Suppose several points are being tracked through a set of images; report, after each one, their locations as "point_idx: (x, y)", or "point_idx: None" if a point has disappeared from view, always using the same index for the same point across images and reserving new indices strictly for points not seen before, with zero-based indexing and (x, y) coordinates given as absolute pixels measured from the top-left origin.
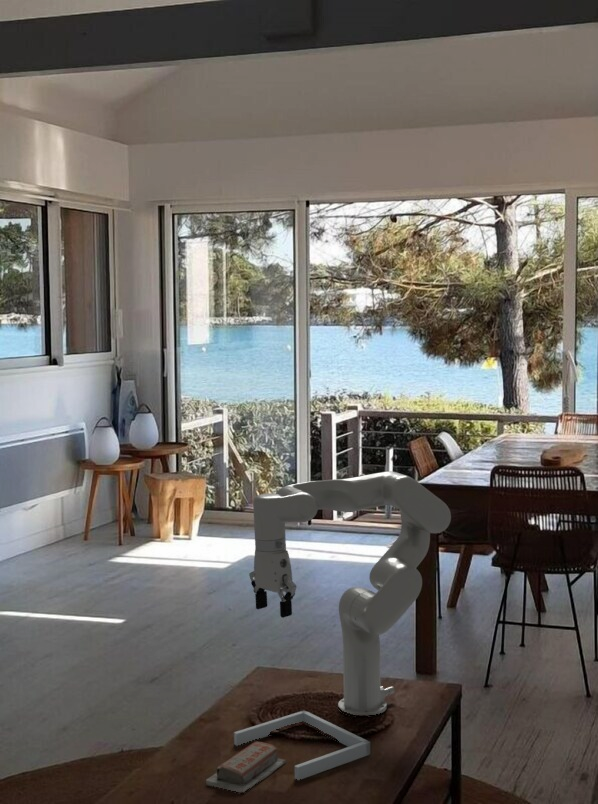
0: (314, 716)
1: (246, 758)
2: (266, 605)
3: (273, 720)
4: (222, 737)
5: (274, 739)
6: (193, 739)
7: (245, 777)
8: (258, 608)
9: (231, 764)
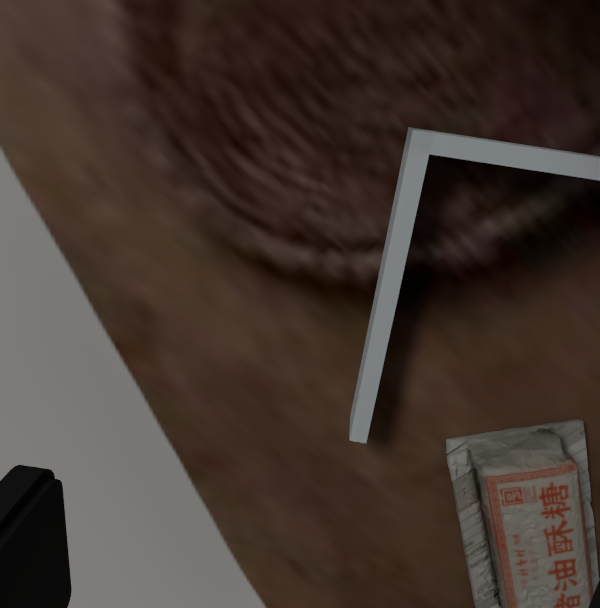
0: (496, 152)
1: (552, 573)
2: (50, 499)
3: (384, 289)
4: (280, 403)
5: (427, 315)
6: (226, 460)
7: None
8: (67, 603)
9: None
